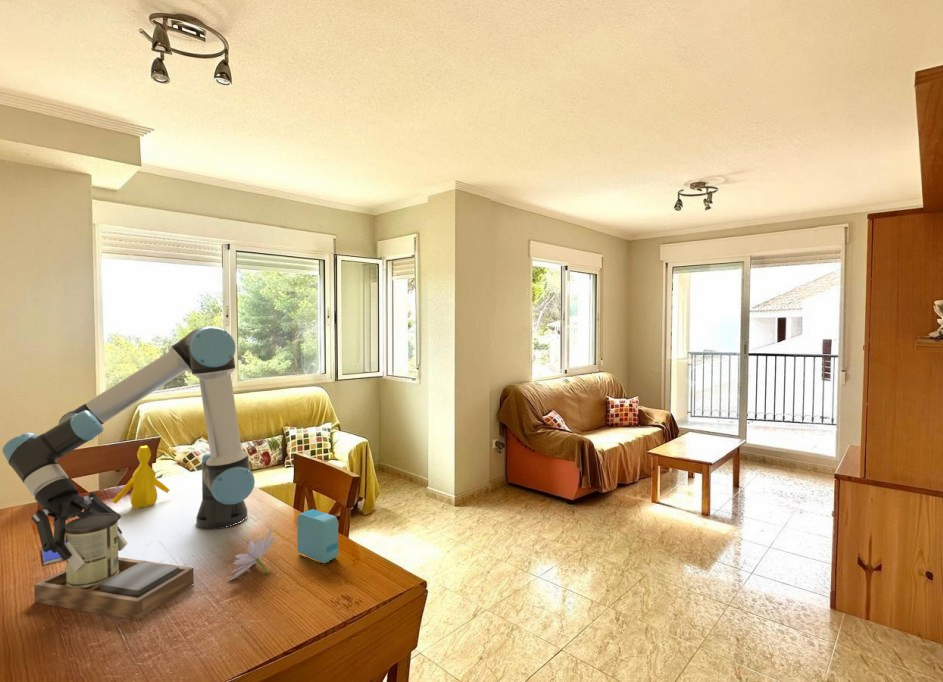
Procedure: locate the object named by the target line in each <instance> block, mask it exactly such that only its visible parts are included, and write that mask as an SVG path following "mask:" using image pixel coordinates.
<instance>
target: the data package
mask: <svg viewBox="0 0 943 682" xmlns="http://www.w3.org/2000/svg"><path fill="white" fill-rule="evenodd" d="M296 527H297V528H296V529H297V553H298V554H299V553H301V554H304V555H306V556H308V557H310V558H312V559H315V560H317V561H320V562H322V563H326V564H328V563H330V562H331V561H330V560H332V559H334V558H336V557H337V558H338V556H339V520H338V518H337V516H335V515H332V514H330V513H326V512H323V511H320V510H316V509H313V508H312V509H309V510H306V511H304V512H301V513H299V514H298V515H297V526H296ZM337 558H336V559H337ZM334 560H335V559H334ZM329 561H330V562H329ZM332 561H333V560H332ZM327 562H328V563H327Z"/></svg>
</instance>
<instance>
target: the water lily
mask: <svg viewBox="0 0 943 682" xmlns="http://www.w3.org/2000/svg"><path fill="white" fill-rule="evenodd" d="M272 530H273V529H272V528H270V530H268V532H267V533H266V535H265V537H264V539H263V537H262V536H260V538H259V539H258V540H257V541H256V542H254V541H253V540H249V542H248V544H247V551H248V552H246V553H238V554H236V555H234V557H235V558H236V559H233V561H234V562H232V565H236V566H237V565H238V566H240V567H237V568H235V569H234V570H232V571H231V574H233V573H235V574H233V575H232V577H230V579H229V580H228V581H229V582H231V581H232V579H233V580H235V579H236V578H238V577H240V576H241V575H243V574H244V573H245V572H246V571H247V570H249V569H250V568H251V567H252V566H254V565H256V564H257V563H258V564H259V566H260V567H261V568H262V570H263V571H264V572H265V574H266V573H268V574H270V572H269V571H268V569H267V568H266V567H265V565H264V563H262V562H261V560H260V558H262V556H263V555H265V553H266V552H268V550H269V549H270V547H271V545H272V544H273V542H274V541H275V538H276V535H274V536H273V537H271V534H272ZM270 537H271V539H270ZM230 580H231V581H230Z"/></svg>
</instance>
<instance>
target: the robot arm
mask: <svg viewBox="0 0 943 682" xmlns="http://www.w3.org/2000/svg"><path fill="white" fill-rule="evenodd" d="M235 342H236V341H235V339H234V338H233V336H232V335H231V334H230V333H229V332H228V331H227V330H225V329H224V328H221V327H219V326H214V325H213V326H209V325H208V326H202V327H197V328H195V329H193V330H192V331H191V332H189V333H187V335H185V336H184V337H183V338H181V339H180V340H178V341H177V342H176V343H175V344H173V345H171V346H170V347H169V349H168V352H166V353H164V354H163V355H161V356H160V357H158V358H156V359H155V360H153V361H151V362H150V363H148V364H146V365H145V366H144V367H142V368H140V369H138V370H137V371H136V372H133V373H132V374H131V375H129V376H127V377H125V378H124V379H122V380H121V381H119V382H118V383H116V384H114V385H113V386H111V387H109V388H107V389H106V390H105V391H103V392H101V393H99V394H98V395H96V396H95V397H93V398H91V399H90V400H88V401H86V403H83V404H82V405H80V406H78V407H77V408H75V409H74V410H70V411H68V412H67V413H65V414H63V415H62V416H61V418H60V419H59V421H58V423H57V425H55V426H53V427H52V428H50V429H48V430H47V431H45V432H43V433H41V434H39V435H38V434H37V433H35V432H26V433H22V434H21V435H17V436H14V437H13V438H11V439H10V440H8V441H7V442H6V443H5V444H4V445H3V447H2V454H3V455H4V457H5V459H6V460H7V464H8V465H9V466H10V467H11V468H12V470H13V471H14V472H15V473H16V475H17V477H19V479H20V480H21V481H22V483H23V484H24V486H25V488H27V490H28V491H29V492H30V494H31V496H33V497H34V500H35V501H36V503H37V504H38V505H39V506H40V508H41V509H38V510H37V511H36V512H35V513H34V514H33V515H32V517H31V520H32V521H33V522H34V524H35V525H36V529H37V533H38V537H39V540H40V544H41V549H42V548H43V551H44V552H48V551H49V550H51V551H52V552H53V553H56V552H58V554H59V555H60V557H61V558H62V559H63V560H62V561H65V562H66V560H67V561H68V562H69V564H70V565H71V566H72V568H73V569H74V571H75V572H76V571H78V570H80V568H81V567H82V566H83V565H84V564H85V562H84V561H83V560H82V558H81V557H80V555H79V554H78V553H77V551H76V550H75V549H74V547H73V546H72V545H71V543H70V542H67V543H66V544H64V543H65V525H66V524H67V521H68V520H69V519H72V518H75V517H76V518H80V517H84V516H87V515H92V514H99V513H114V514H117V515H118V521H119V520H120V519H121V517H122V516H121V515H120V514H119V513H118V512H117V511H115V510H114V509H112V507H110V506H108V505H107V503H105V502H104V501H102V500H101V499H100V498H99V497H98V496H97V494H96V493H95V492H90V493H89V495H85V496H83V495H81V494H79V492H78V488H77V486H76V485H75V484H74V482H73V481H72V480H71V478H69V475H68V474H67V473H66V471H65V470H64V469H63V468H62V466H61V465H60V464H59V463H58V461H57V460H59V459H61V458H63V457H65V456H66V455H68V454H69V453H71V452H72V451H74V450H76V449H77V448H79V447H81V446H82V445H84V444H86V443H87V442H89V441H92V440H94V439H95V438H96V437H98V436H99V435H100V434H102V433H103V432H104V427H103V425H104V424H105V423H106V422H108V421H109V420H111V419H113V418H114V417H116V416H117V415H118V414H120V413H122V412H124V411H125V410H127V409H129V408H130V407H131V406H133V405H135V404H136V403H138V402H139V401H140V400H142V399H144V398H145V397H148V396H149V395H150V394H151V393H154V392H155V391H157V390H158V389H159V388H161V387H163V386H164V385H166V384H168V383H169V382H171V381H172V380H173V379H175V378H177V377H178V376H180V375H182V374H183V373H184V372H192V373H191V374H192V375H193V376H194V377H196V378H198V380H199V381H198V382H199V388H200V394H201V400H202V401H201V402H202V408H203V413H204V421H205V426H206V434H207V439H208V445H209V446H208V447H209V452H207V453H205V454H203V455H202V457H201V483H202V484H201V486H202V488H201V494H202V500H201V502H200V506H199V509H198V512H197V515H196V523H195V524H196V526H197V527H198V528H200V529H204V530H205V529H206V530H215V529H214V528H219V529H222V528H221V527H225V528H227V527H226V526H229V527H231V526H230V525H233V524H235V523H238V522H240V521H242V520H243V519H245V518H246V517H247V518H248V508H247V506H246V502H245V500H246V499H247V498H248V497H249V496H250V495H251V493H253V490H254V487H255V482H256V480H255V476H254V473H253V472H252V471H251V468H250V466H251V465H250V460H249V454H248V452H246V450H243V449H242V443H241V436H240V429H239V423H238V415H237V407H236V402H235V395H234V387H233V381H232V379H233V378H232V373H233V372H234V371H235V369H236V363H235V353H236V343H235ZM49 517H52V518H53V527H54V529H53V531H52V526H51V524H50V519H49ZM247 518H246V519H247ZM246 519H245V520H246ZM233 526H234V525H233ZM122 534H123V531H122V530H121V528H120V527H119V526H118V552H121V551H122V550H123V549H124V548H125V547H126V546H127V545H128V542H127V540H126V539H125V538H124V537H123V535H122Z"/></svg>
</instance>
